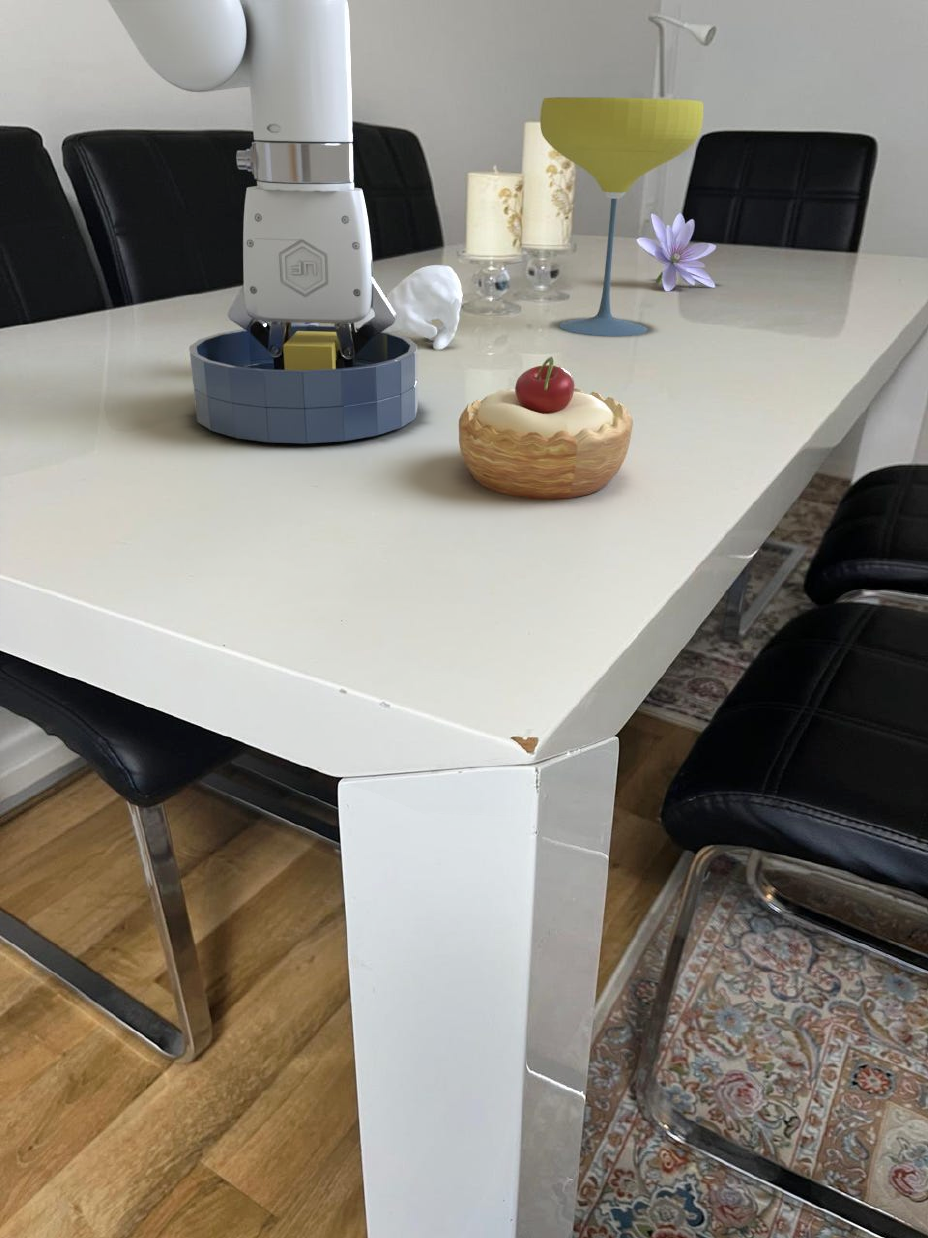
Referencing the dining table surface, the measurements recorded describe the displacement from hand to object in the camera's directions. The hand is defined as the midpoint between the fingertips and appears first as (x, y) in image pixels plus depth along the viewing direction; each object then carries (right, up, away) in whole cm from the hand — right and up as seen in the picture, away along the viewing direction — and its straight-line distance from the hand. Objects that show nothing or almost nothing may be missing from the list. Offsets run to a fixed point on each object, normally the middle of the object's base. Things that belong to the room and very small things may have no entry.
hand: (316, 399), depth 83 cm
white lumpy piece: (+7, +11, +25) cm, 28 cm away
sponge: (0, 0, 0) cm, 0 cm away
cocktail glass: (+30, +17, +36) cm, 50 cm away
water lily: (+46, +33, +68) cm, 89 cm away
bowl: (0, -2, -2) cm, 3 cm away
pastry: (+18, -9, -15) cm, 25 cm away
